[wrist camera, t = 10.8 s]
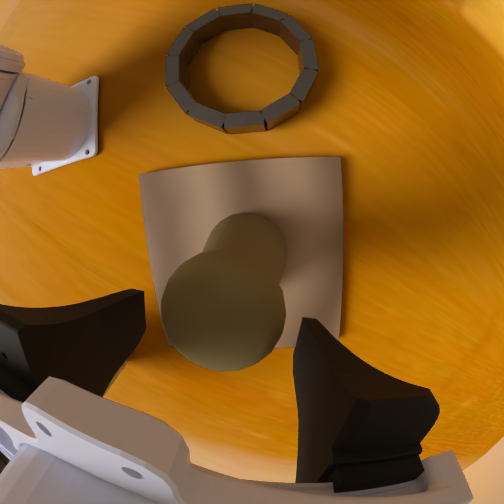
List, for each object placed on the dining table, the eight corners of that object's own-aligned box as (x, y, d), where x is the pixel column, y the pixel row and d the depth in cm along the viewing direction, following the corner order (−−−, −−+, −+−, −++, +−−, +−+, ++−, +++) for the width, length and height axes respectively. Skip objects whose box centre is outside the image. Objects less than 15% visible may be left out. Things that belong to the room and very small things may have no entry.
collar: (179, 141, 19) (167, 136, 17) (177, 31, 17) (167, 18, 14) (319, 129, 18) (325, 122, 16) (303, 17, 16) (305, 1, 13)
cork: (304, 261, 20) (330, 347, 9) (240, 306, 21) (210, 409, 11) (252, 195, 19) (224, 213, 8) (189, 246, 20) (112, 311, 10)
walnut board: (171, 340, 24) (167, 346, 23) (144, 174, 20) (139, 174, 19) (336, 338, 22) (338, 344, 21) (337, 157, 19) (340, 156, 18)
